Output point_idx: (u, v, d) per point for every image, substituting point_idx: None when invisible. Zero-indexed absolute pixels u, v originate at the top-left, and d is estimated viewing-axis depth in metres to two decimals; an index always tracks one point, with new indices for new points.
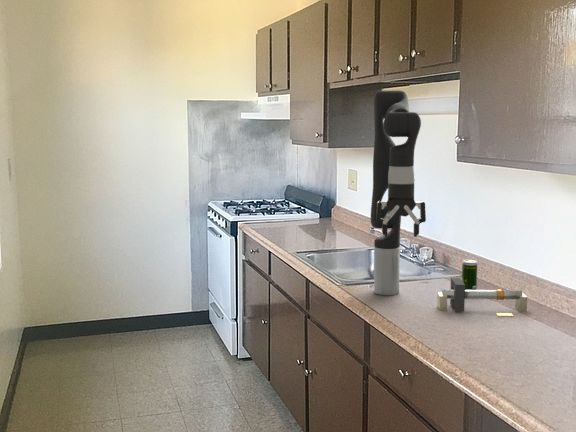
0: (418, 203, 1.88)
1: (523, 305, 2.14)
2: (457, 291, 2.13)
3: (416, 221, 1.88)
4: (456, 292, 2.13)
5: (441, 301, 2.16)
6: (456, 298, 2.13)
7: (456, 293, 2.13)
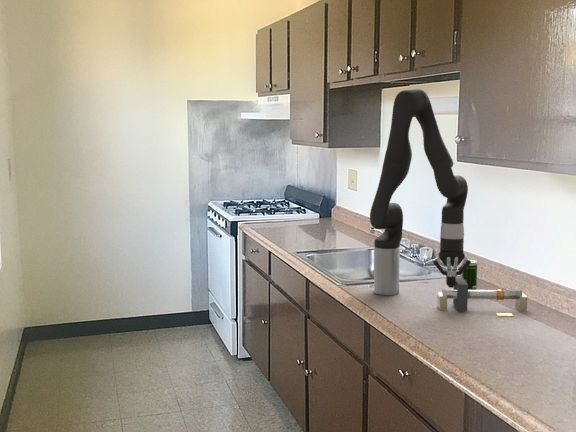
0: (465, 259, 2.15)
1: (523, 305, 2.14)
2: (460, 291, 2.13)
3: (453, 274, 2.15)
4: (459, 292, 2.13)
5: (441, 301, 2.16)
6: (459, 298, 2.13)
7: (459, 293, 2.13)
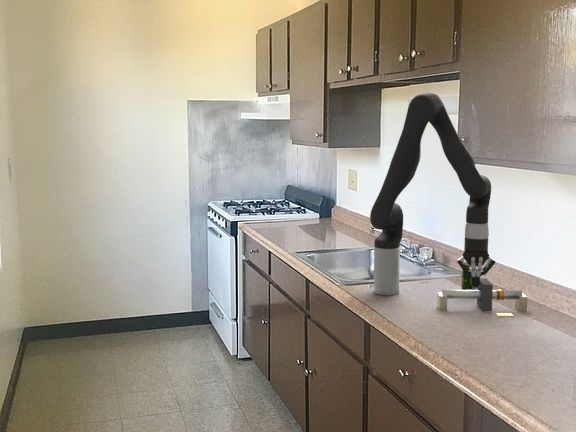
0: (490, 259, 2.14)
1: (523, 305, 2.14)
2: (485, 291, 2.12)
3: (477, 274, 2.14)
4: (484, 292, 2.12)
5: (441, 301, 2.16)
6: (484, 298, 2.12)
7: (484, 293, 2.12)
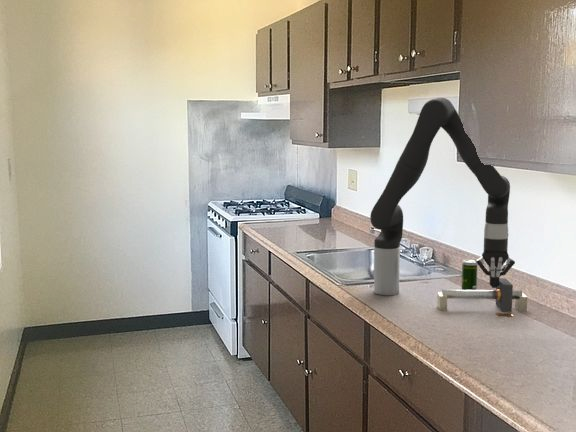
0: (509, 259, 2.14)
1: (523, 305, 2.14)
2: (505, 291, 2.12)
3: (497, 274, 2.14)
4: (504, 292, 2.12)
5: (441, 301, 2.16)
6: (503, 298, 2.12)
7: (504, 293, 2.12)
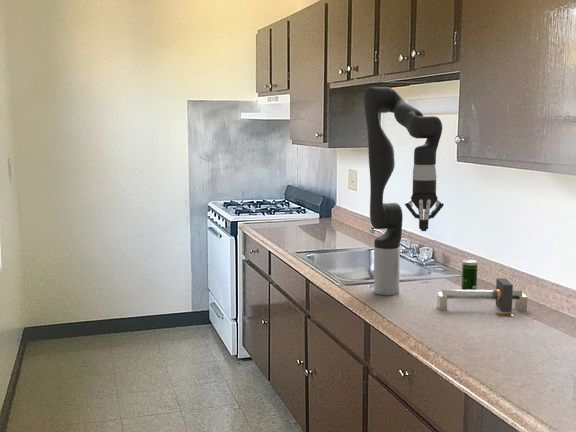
0: (438, 202, 2.11)
1: (523, 305, 2.14)
2: (505, 291, 2.12)
3: (425, 217, 2.11)
4: (504, 292, 2.12)
5: (441, 301, 2.16)
6: (503, 298, 2.12)
7: (504, 293, 2.12)
